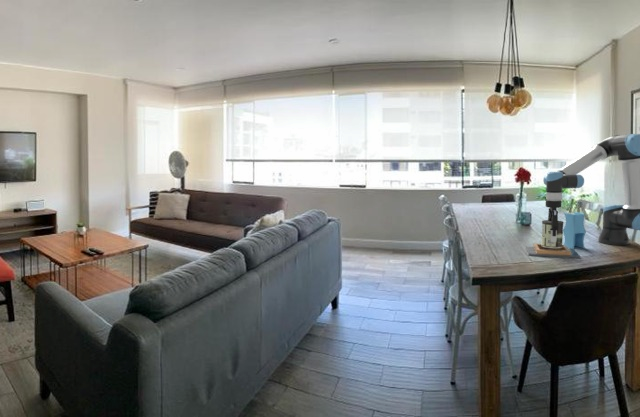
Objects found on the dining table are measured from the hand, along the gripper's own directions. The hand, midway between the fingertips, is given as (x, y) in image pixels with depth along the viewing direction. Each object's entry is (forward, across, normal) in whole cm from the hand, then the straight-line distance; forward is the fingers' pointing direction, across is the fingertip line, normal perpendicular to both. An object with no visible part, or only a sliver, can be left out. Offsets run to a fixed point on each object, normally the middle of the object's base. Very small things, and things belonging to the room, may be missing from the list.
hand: (551, 239), depth 220 cm
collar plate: (+8, 0, 0) cm, 8 cm away
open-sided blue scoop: (+8, -19, +14) cm, 25 cm away
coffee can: (+4, 0, 0) cm, 4 cm away
